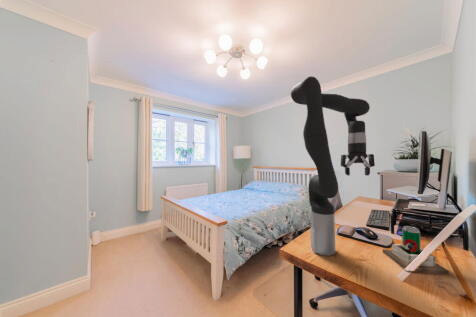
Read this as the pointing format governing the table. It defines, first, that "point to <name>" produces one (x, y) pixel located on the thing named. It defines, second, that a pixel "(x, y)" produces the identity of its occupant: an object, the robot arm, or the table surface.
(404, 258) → the holder
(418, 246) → the soda can
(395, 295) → the table surface
